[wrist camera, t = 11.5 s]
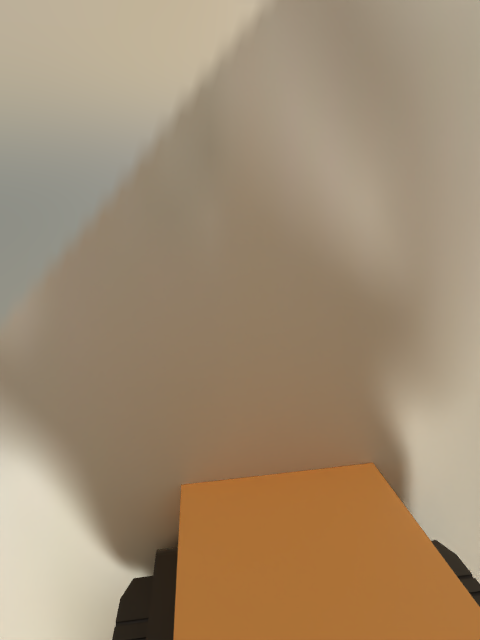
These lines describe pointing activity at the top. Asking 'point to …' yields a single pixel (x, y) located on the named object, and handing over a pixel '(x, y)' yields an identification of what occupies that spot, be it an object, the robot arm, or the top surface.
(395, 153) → the top surface
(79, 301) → the top surface
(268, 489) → the orange rectangular block
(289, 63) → the top surface
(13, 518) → the top surface
